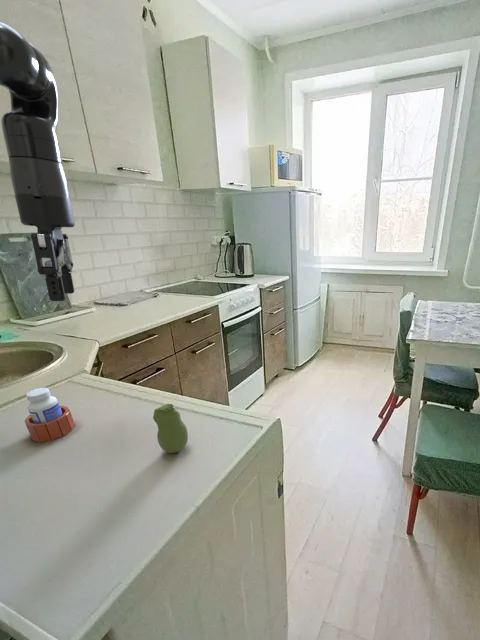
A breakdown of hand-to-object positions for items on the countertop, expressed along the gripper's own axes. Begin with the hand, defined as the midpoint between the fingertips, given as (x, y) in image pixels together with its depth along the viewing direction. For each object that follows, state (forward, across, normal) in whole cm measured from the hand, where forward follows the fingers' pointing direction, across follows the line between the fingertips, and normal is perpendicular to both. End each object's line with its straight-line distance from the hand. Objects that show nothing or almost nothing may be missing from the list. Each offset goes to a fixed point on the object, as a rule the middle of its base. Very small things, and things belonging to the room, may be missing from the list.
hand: (63, 296), depth 63 cm
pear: (+28, +11, +16) cm, 34 cm away
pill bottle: (+30, -7, -8) cm, 32 cm away
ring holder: (+30, -7, -8) cm, 32 cm away
